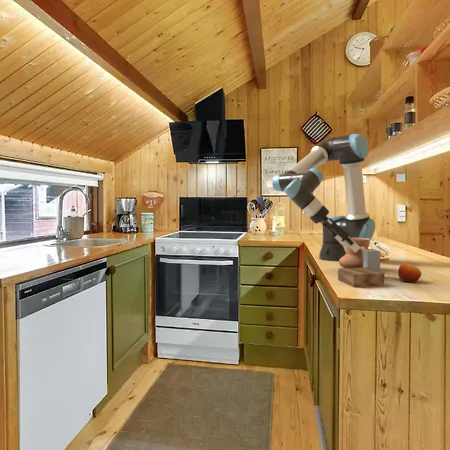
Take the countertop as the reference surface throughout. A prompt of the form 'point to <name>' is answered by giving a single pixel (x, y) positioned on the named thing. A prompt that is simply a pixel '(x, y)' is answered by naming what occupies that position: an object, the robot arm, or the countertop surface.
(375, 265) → the pillar
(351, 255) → the ceramic jug
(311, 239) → the countertop surface
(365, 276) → the walnut slab
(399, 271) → the fruit
